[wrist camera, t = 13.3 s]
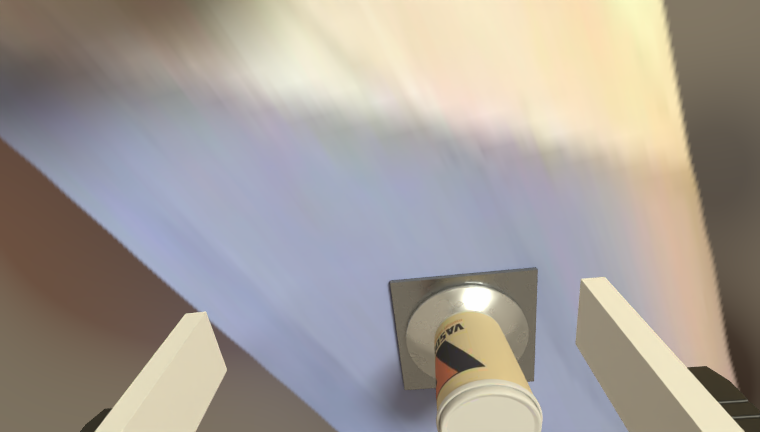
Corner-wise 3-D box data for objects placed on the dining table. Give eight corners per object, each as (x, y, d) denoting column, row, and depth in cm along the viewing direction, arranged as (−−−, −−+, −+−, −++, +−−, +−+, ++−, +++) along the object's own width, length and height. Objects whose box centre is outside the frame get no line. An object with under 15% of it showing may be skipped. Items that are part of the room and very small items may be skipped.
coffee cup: (450, 292, 44) (469, 376, 33) (524, 321, 45) (567, 411, 34) (413, 352, 47) (419, 447, 36) (483, 378, 48) (510, 476, 37)
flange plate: (390, 280, 45) (390, 286, 44) (536, 267, 43) (539, 273, 42) (404, 386, 51) (404, 394, 50) (532, 378, 50) (535, 385, 49)
